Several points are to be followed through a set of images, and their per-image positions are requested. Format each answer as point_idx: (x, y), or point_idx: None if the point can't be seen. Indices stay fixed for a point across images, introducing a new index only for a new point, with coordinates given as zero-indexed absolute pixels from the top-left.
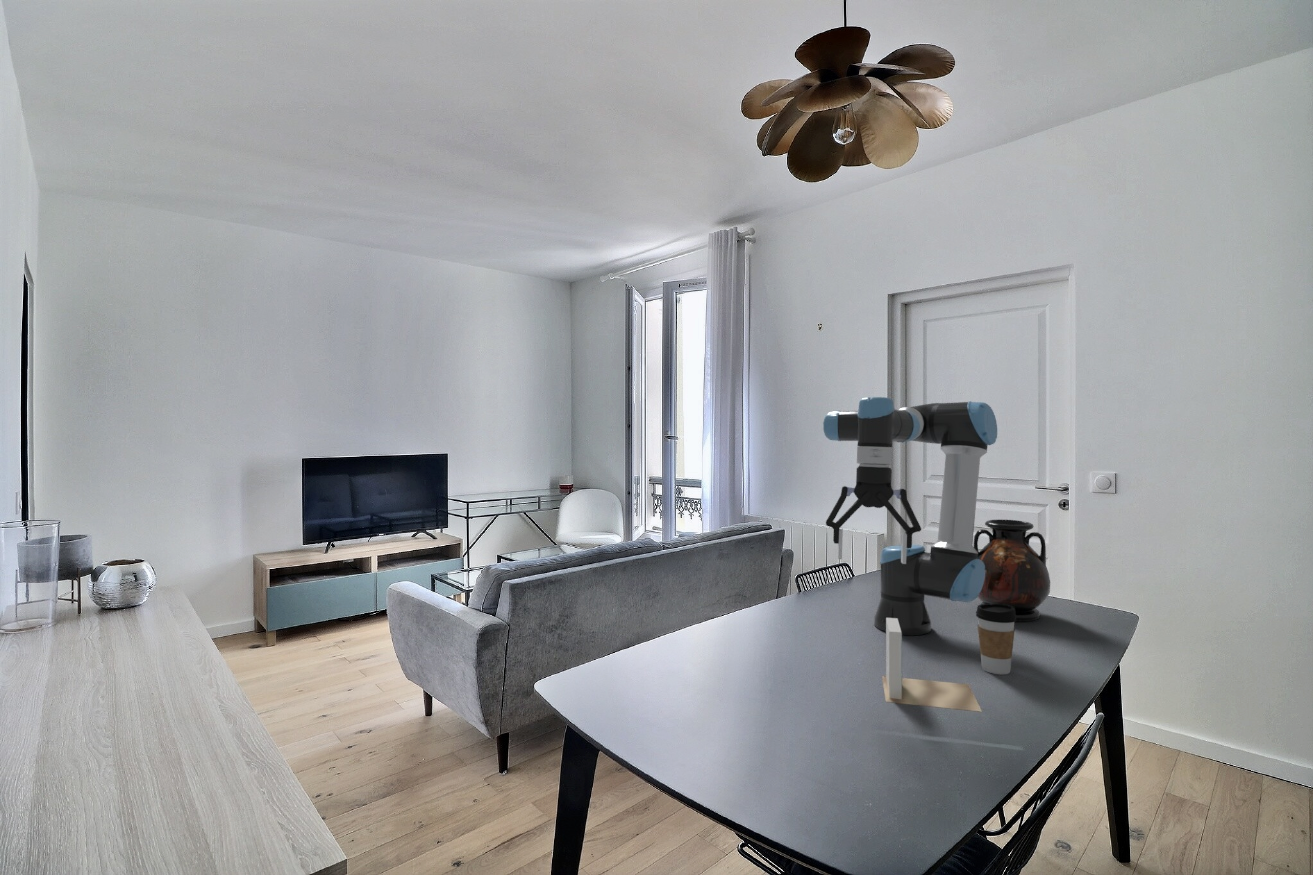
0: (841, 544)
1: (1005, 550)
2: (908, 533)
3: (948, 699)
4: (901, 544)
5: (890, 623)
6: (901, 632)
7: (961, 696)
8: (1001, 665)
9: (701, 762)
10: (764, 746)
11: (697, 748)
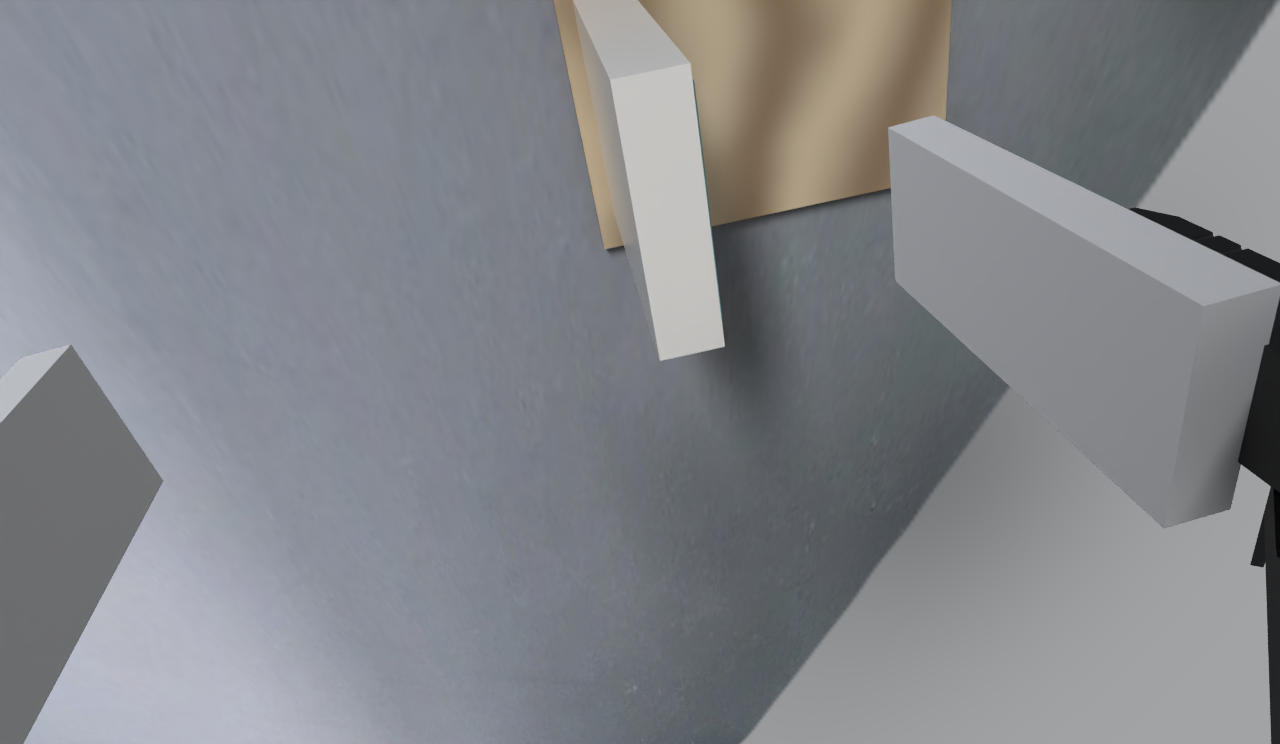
0: (68, 634)
1: None
2: (1259, 563)
3: (838, 115)
4: (1032, 217)
5: (653, 210)
6: (724, 346)
7: (895, 55)
8: None
9: (258, 731)
10: (349, 629)
11: (207, 701)
